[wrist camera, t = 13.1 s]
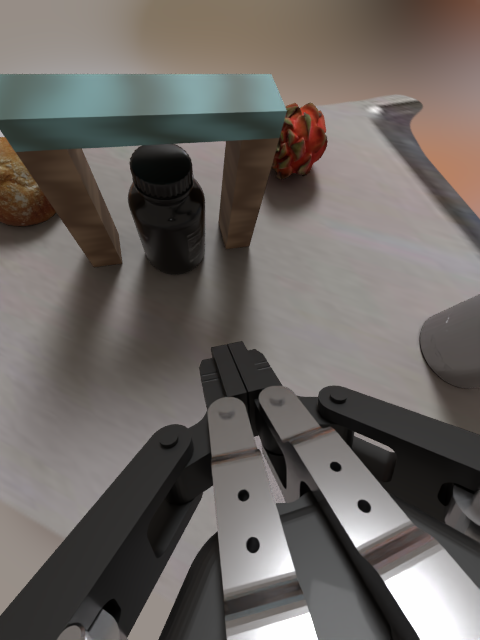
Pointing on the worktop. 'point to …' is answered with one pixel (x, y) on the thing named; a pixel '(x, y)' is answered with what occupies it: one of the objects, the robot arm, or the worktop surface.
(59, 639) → the robot arm
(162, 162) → the supplement bottle
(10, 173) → the bread roll
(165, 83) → the gate
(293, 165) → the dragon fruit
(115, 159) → the worktop surface
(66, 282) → the worktop surface
